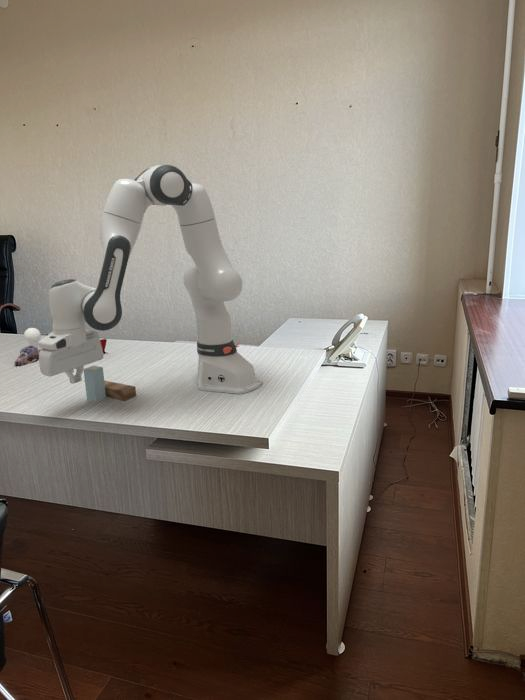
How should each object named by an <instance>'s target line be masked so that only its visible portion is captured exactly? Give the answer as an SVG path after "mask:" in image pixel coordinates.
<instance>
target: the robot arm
mask: <svg viewBox="0 0 525 700" xmlns="http://www.w3.org/2000/svg"><path fill="white" fill-rule="evenodd" d="M150 206H162V207H164V206H171V207H172V208H174V210H175V212H176V215H177V218H178V219H177V221H178V223H179V227H180V231H181V236H182V240H183V243H184V247H185V251H186V252H187V253H188V255H189V256H190V258H191V259H192V261H193V263H194V264H192V265H190V266H189V267H188V268H187V269H186V270H185V271H184V274H183V277H182V278H183V281H182V282H183V285H184V287H185V289H186V290H187V292H188V293H189V297H190V300H191V303H192V306H193V310H194V314H195V320H196V329H197V330H196V331H197V341H196V350H197V355H198V360H197V361H198V363H197V364H198V365H197V372H196V373H197V374H196V380H195V385H196V386H197V390H199V391H206V392H214V393H226V394H236V395H241V394H247V393H250V392H252V391H255V390H257V389H258V388H259V387H261V386H262V385H263V379H262V378H259V377H256V371H255V368H254V367H255V366H254V365H253V364H252V363H251V362H249V361H248V360H247V359H246V358H245V357H243V355H241V354H240V353H239V352H238V350H237V348H238V347H240V343H239V342H238V343H235V342H234V340H233V338H232V337H233V336H232V319H231V315H230V313H229V311H228V310H227V308H226V305H225V302H229V301H233V300H235V299H236V298H238V297H239V296H240V294H241V292H242V290H243V279H242V277H241V275H240V274H239V272H238V271H237V270H236V269H235V267H233V265H232V263H231V260H230V259H229V257H228V254H227V252H226V251H225V248H224V246H223V243H222V240H221V237H220V232H219V228H218V224H217V220H216V215H215V212H214V207H213V204H212V201H211V199H210V197H209V194H208V192H207V189H206V188H205V187H204V186H203V185H202V184H201V183H200V184H199V183H195V182H191V181H190V180H189V179H188V178H187V177H186V174H184V172H183V171H182V170H181V169H180V168H179V167H177V166H174V165H172V164H157V165H153V166H152V167H151V166H150V167H149V168H146V169H144V170H143V171H142V172H140V174H139V175H138V176H137V177H136V178H135V179H132V178H120V179H118V180H116V181H115V182H114V184H113V185H112V187H111V190H110V192H109V194H108V196H107V198H106V202H105V204H104V208H103V211H102V214H101V219H100V225H99V240H100V242H101V246H102V253H103V260H102V265H101V269H100V273H99V277H98V280H97V281H98V282H97V284H96V285H97V286H96V287H92V286H89V285H86V284H84V283H82V282H80V281H78V280H77V279H74V278H73V279H72V278H71V279H64V280H60V281H57V282H55V283H53V284H52V285H51V287H50V288H49V291H48V298H49V299H48V301H49V303H48V304H49V312H50V313H49V314H50V316H51V317H52V331H51V332H50V333H49V334H48V335H46V336H45V337H42V339H41V338H40V340H39V342H38V348H40V351H39V360H38V362H39V370H40V373H41V374H42V375H43V376H44V377H49V378H51V377H54V376H58V375H59V374H63V373H65V375H66V376H67V377H68V379H69V383H70V384H71V385H72V384H73V385H74V384H76V383H80V382H82V380H83V377H82V376H83V374H84V369H85V366H87V365H90V364H93V363H95V362H99V361H101V360H102V359H103V358H104V353H103V350H102V346H101V342H100V340H101V339H100V334H99V333H98V332H97V331H104V332H105V331H108V330H109V331H110V330H112V329H113V328H115V327H117V325H118V324H119V323H120V321H121V319H122V316H123V308H122V304H121V303H122V302H121V292H122V289H123V288H122V286H123V284H124V278H125V275H126V270H127V266H128V262H129V260H130V257H131V254H132V252H133V249H134V247H135V244H136V242H137V240H138V237H139V234H140V231H141V228H142V225H143V221H144V217H145V214H146V213H147V212H146V211H147V210H148V208H149V207H150ZM86 324H87V325H88V326H89V327H90V328H91V329H94V330H89V331H87V329H86ZM95 330H96V331H95ZM74 370H76V372H75V371H74ZM74 372H75V374H73V373H74Z"/></svg>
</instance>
